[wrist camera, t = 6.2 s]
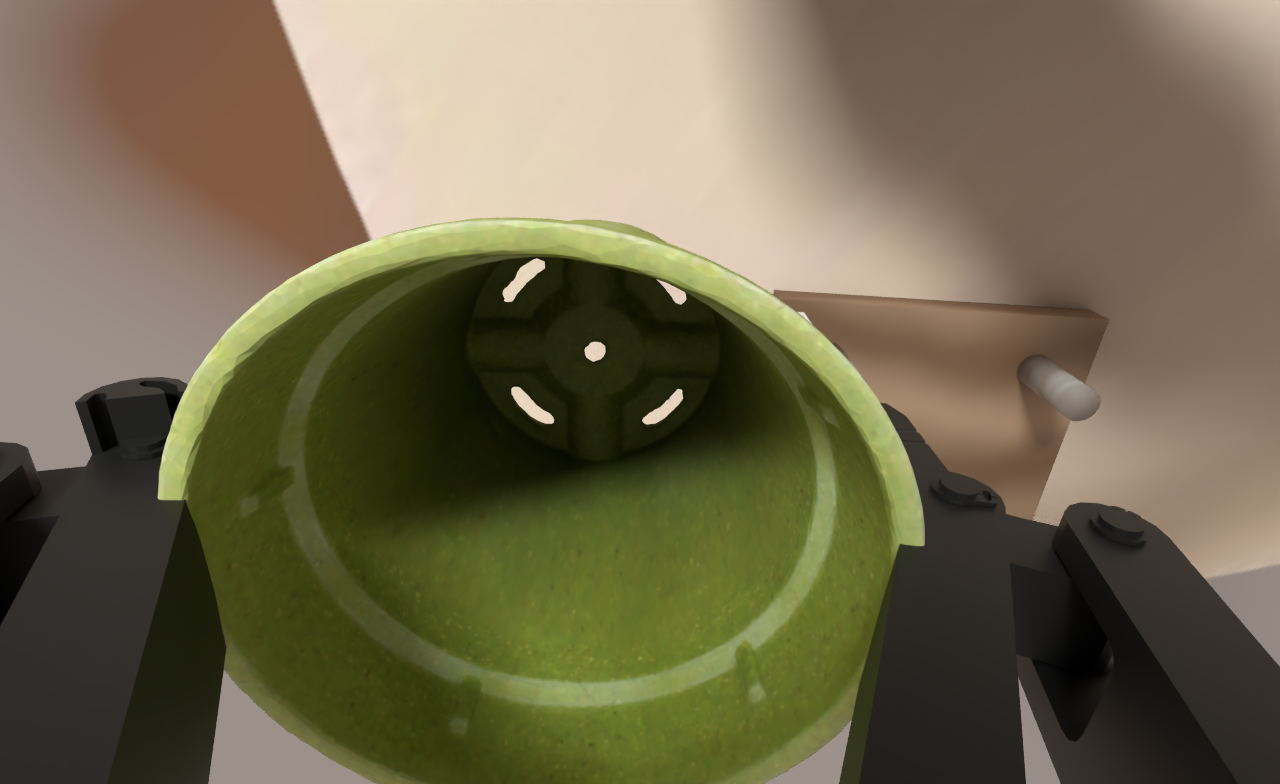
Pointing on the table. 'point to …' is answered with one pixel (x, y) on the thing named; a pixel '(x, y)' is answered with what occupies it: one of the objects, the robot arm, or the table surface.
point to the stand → (971, 378)
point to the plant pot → (541, 511)
